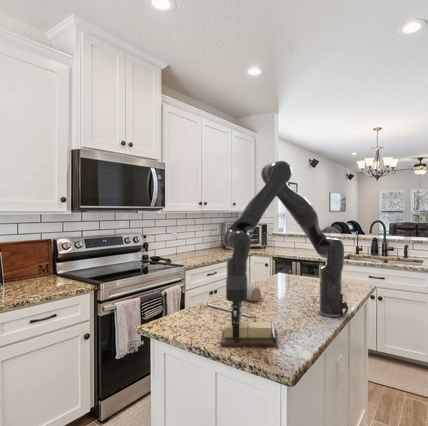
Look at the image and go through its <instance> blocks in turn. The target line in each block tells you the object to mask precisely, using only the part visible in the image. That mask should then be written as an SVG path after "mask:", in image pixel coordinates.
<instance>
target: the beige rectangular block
mask: <svg viewBox="0 0 428 426" xmlns="http://www.w3.org/2000/svg"><path fill="white" fill-rule="evenodd" d="M248 327H249V338H272V327H271V322H266V321H265V322H264V321H263V322H262V321H261V322H260V321H259V322H258V321H257V322H255V321H254V322H252V321H251V322H248Z"/></svg>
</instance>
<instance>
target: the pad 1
mask: <svg viewBox="0 0 428 426" xmlns="http://www.w3.org/2000/svg"><path fill="white" fill-rule="evenodd" d="M234 323H238V322H234ZM231 324H232V321H227V322H225V324H224V333H225V337H233V327H232V326H231ZM248 327H249V322H248V321H247V322H246V321H243V322H242V321H240V326H239V338H247V337H248Z"/></svg>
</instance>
